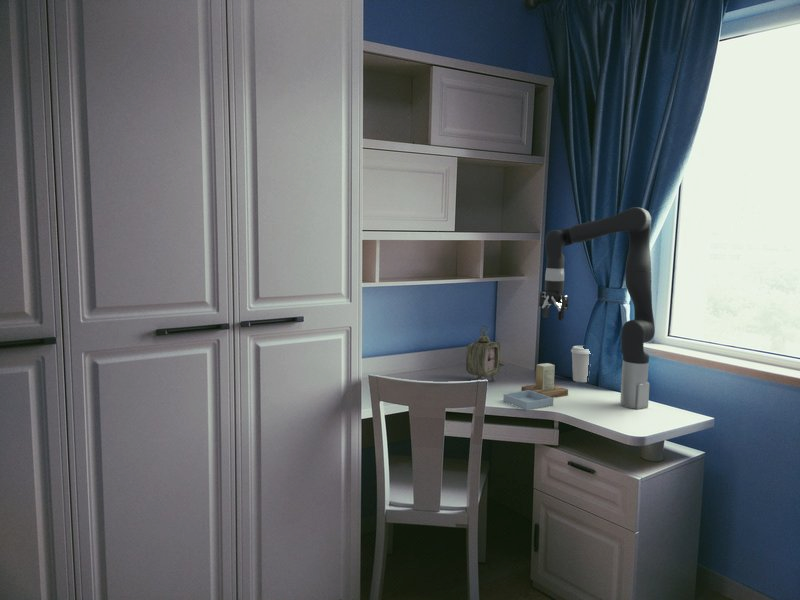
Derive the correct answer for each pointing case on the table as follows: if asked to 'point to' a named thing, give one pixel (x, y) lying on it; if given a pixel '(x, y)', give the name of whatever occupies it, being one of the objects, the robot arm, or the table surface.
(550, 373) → the skincare box
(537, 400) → the tray
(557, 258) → the robot arm
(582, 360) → the coffee cup
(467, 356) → the tabletop clock
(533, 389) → the walnut plate
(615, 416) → the table surface
